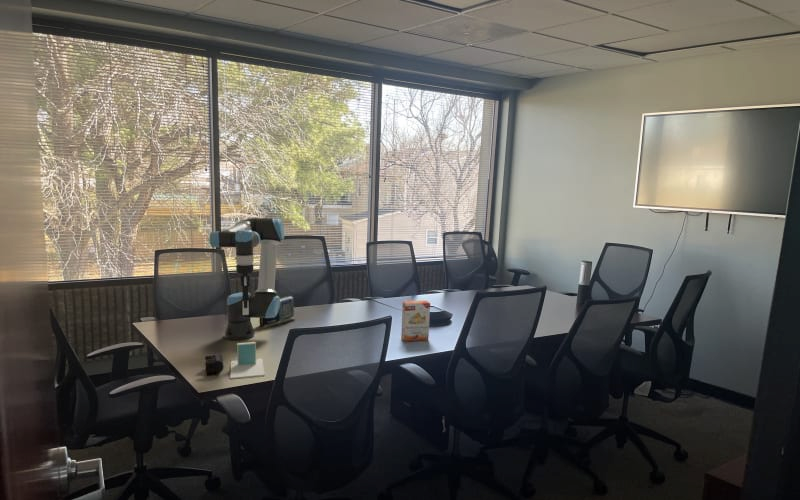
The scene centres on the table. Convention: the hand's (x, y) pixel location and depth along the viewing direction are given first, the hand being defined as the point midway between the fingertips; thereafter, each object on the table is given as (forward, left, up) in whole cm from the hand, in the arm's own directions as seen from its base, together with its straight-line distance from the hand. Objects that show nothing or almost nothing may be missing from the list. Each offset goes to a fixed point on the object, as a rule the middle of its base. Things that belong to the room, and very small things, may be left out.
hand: (245, 314), depth 233 cm
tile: (+7, 0, -17) cm, 18 cm away
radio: (-56, +18, -23) cm, 63 cm away
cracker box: (-10, +87, -22) cm, 90 cm away
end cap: (+11, -14, -22) cm, 28 cm away
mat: (+11, 0, -22) cm, 25 cm away
